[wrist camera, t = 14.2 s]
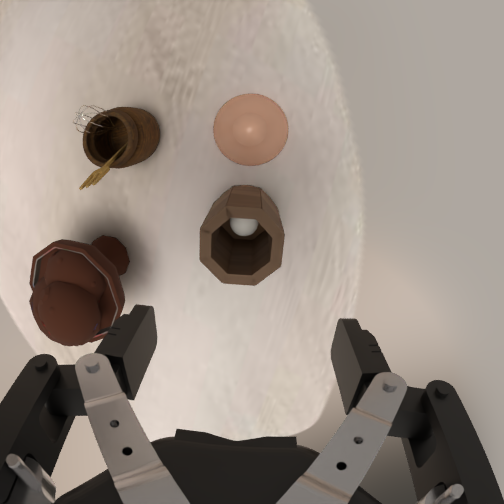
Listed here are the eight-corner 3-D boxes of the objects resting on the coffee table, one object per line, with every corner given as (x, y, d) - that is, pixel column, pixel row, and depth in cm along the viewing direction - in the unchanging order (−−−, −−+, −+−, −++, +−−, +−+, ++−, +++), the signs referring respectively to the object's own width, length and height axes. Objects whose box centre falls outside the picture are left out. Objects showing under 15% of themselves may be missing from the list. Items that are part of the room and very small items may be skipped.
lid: (217, 93, 28) (208, 85, 22) (289, 98, 28) (297, 91, 23) (212, 162, 31) (203, 170, 25) (283, 167, 31) (290, 176, 25)
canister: (215, 183, 31) (200, 204, 23) (278, 187, 32) (287, 210, 23) (213, 242, 34) (199, 281, 26) (272, 246, 34) (278, 287, 26)
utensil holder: (155, 100, 28) (102, 90, 17) (168, 157, 30) (121, 176, 19) (105, 118, 29) (39, 120, 17) (118, 172, 31) (57, 198, 20)
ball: (231, 203, 31) (229, 210, 29) (259, 205, 31) (259, 213, 29) (230, 229, 32) (228, 239, 30) (257, 231, 33) (257, 241, 30)
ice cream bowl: (100, 194, 32) (16, 242, 18) (168, 261, 35) (122, 344, 21) (59, 253, 35) (-13, 314, 21) (119, 311, 38) (70, 392, 24)
